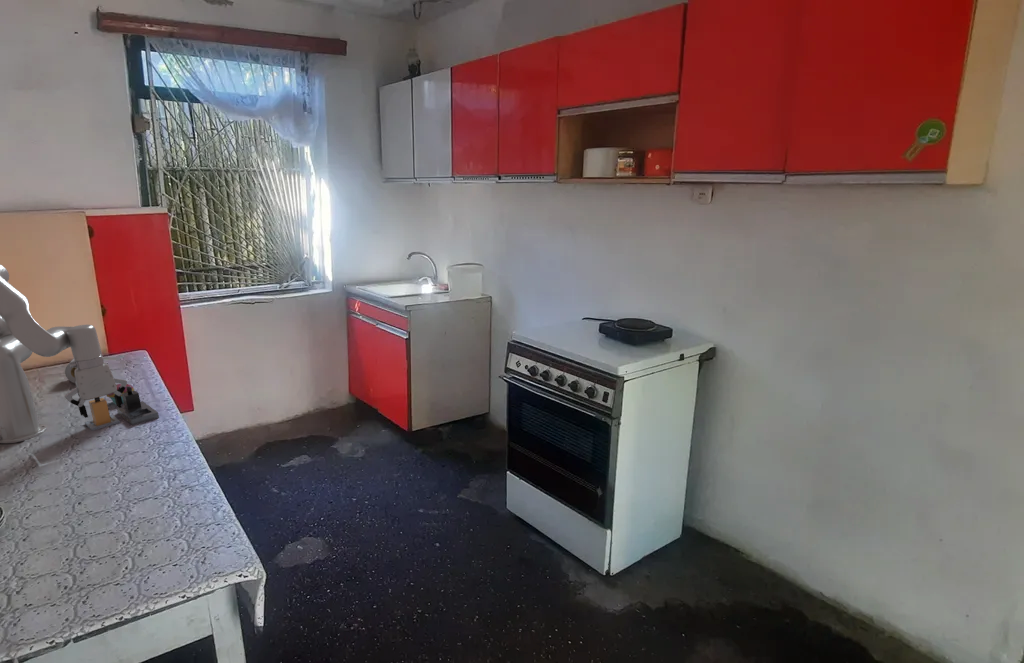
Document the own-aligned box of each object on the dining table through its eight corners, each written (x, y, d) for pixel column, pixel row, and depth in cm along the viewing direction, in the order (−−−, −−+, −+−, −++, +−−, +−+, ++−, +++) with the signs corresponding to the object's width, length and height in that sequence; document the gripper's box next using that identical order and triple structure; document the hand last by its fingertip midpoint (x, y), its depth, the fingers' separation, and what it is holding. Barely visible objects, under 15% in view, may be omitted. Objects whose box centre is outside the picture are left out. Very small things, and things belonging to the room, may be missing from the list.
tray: (92, 431, 190) (91, 428, 189) (85, 425, 195) (84, 422, 195) (120, 424, 196) (119, 420, 195) (113, 417, 201) (112, 414, 200)
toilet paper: (73, 378, 243) (68, 355, 240) (102, 374, 247) (97, 351, 244) (67, 385, 234) (62, 362, 231) (97, 381, 238) (92, 358, 235)
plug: (97, 426, 192) (91, 400, 190) (93, 423, 195) (88, 397, 193) (111, 422, 195) (105, 397, 193) (107, 419, 198) (102, 394, 195)
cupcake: (113, 409, 209) (106, 377, 206) (104, 403, 214) (97, 372, 211) (140, 401, 215) (133, 370, 212) (130, 396, 220) (124, 366, 217)
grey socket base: (159, 419, 199) (154, 391, 196) (132, 426, 193) (126, 398, 190) (143, 407, 209) (138, 381, 207) (118, 414, 203) (112, 387, 201)
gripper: (60, 372, 181) (74, 423, 186) (123, 357, 193) (135, 405, 198) (54, 368, 186) (68, 417, 191) (116, 353, 198) (128, 400, 203)
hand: (102, 411), depth 194 cm, fingers open, 9 cm apart
